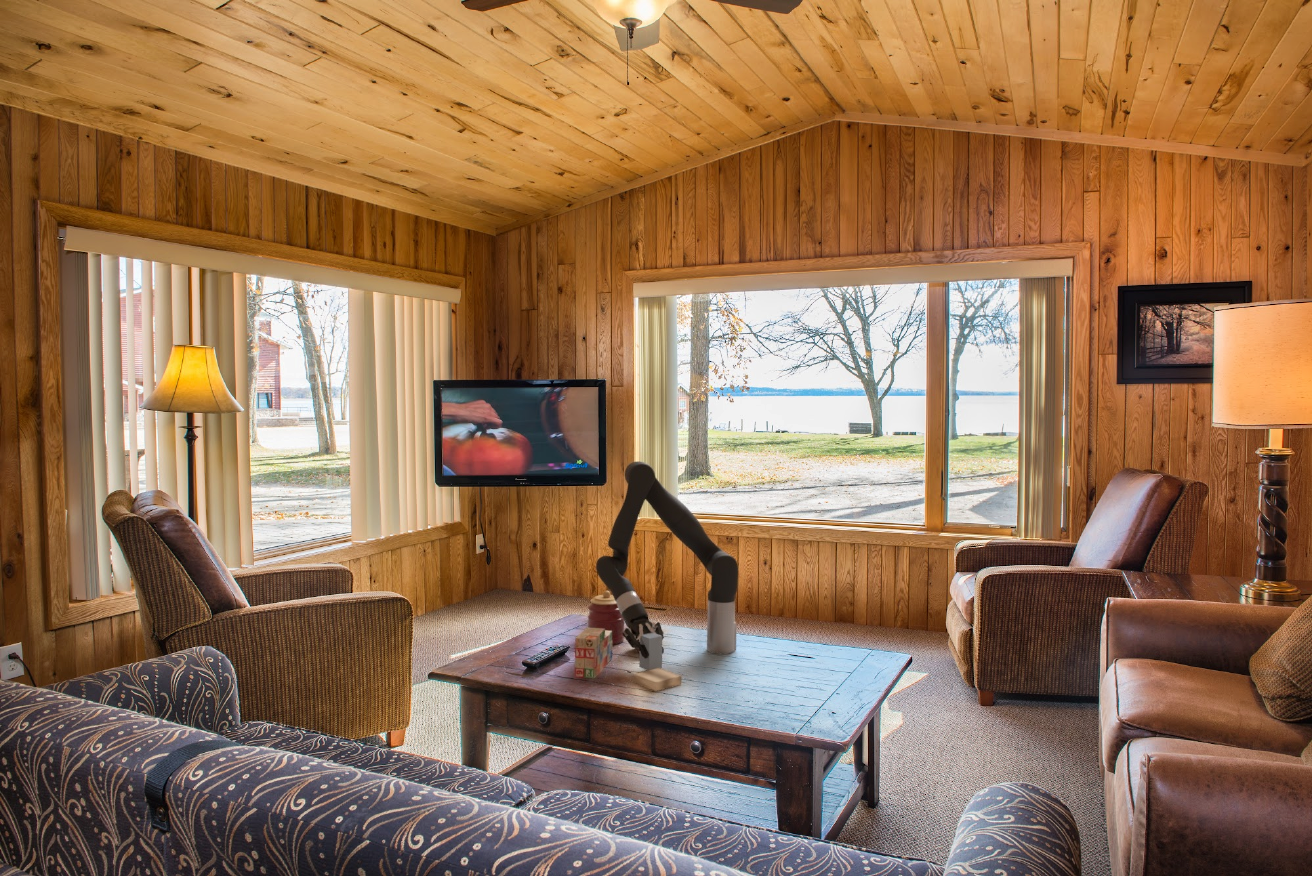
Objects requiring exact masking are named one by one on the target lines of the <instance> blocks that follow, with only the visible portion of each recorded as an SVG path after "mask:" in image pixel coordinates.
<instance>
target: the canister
mask: <svg viewBox="0 0 1312 876" xmlns="http://www.w3.org/2000/svg"><path fill="white" fill-rule="evenodd" d="M589 601H590V604H589V605H588V606H587V610H588V615H587V628H603V629H605V630H607V631H612V646H614V645H618V643H619V644H621V643H623V642H624V639H625V637H624V636H623V635H622V633H623V631H624V630H625V621H624V619H623V617H622V615H621V613H620V611H619V609H618V606H617V603H616V601H615V599H614V597H613V595H612V594H611V591H610V590H604V591H603V592H602V594H600V595H595V596H594V597H593V598H591V599H590V600H589Z"/></svg>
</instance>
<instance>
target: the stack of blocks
mask: <svg viewBox="0 0 1312 876" xmlns="http://www.w3.org/2000/svg"><path fill="white" fill-rule="evenodd" d="M574 643H575V644H574V645H575V647H574V678H585V679H593V680H594V679H595V678H596V677H597V676H598V675H599V674H600V673H601V672H602V671H603V669H605V667H606V666H607V665H608V664H609V662H610V661H612V660H613V645H612V631H607V630H605V629H603V628H588V627H586V628H585V629H583V630H582V631H581V632H580V634H578V635H577V636H576V637H575V642H574Z"/></svg>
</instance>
